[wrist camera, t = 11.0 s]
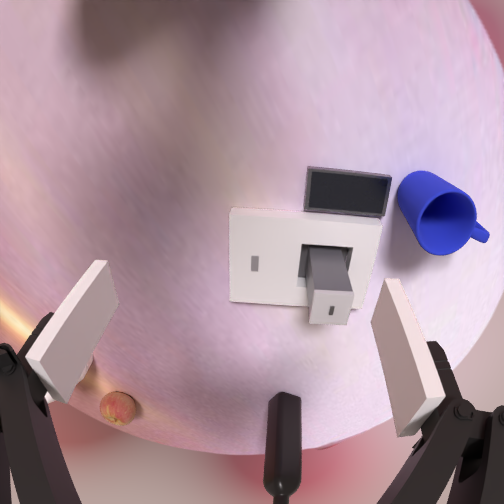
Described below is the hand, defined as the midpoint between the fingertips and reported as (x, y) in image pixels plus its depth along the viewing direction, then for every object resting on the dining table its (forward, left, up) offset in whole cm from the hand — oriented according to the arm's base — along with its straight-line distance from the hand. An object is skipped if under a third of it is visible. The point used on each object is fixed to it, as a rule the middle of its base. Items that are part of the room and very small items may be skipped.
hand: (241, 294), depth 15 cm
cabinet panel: (+15, +6, -28) cm, 32 cm away
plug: (+15, +9, -28) cm, 33 cm away
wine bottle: (+51, +7, -28) cm, 59 cm away
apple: (+59, -32, -28) cm, 73 cm away
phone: (+4, +11, -28) cm, 30 cm away
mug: (+4, +23, -28) cm, 37 cm away
